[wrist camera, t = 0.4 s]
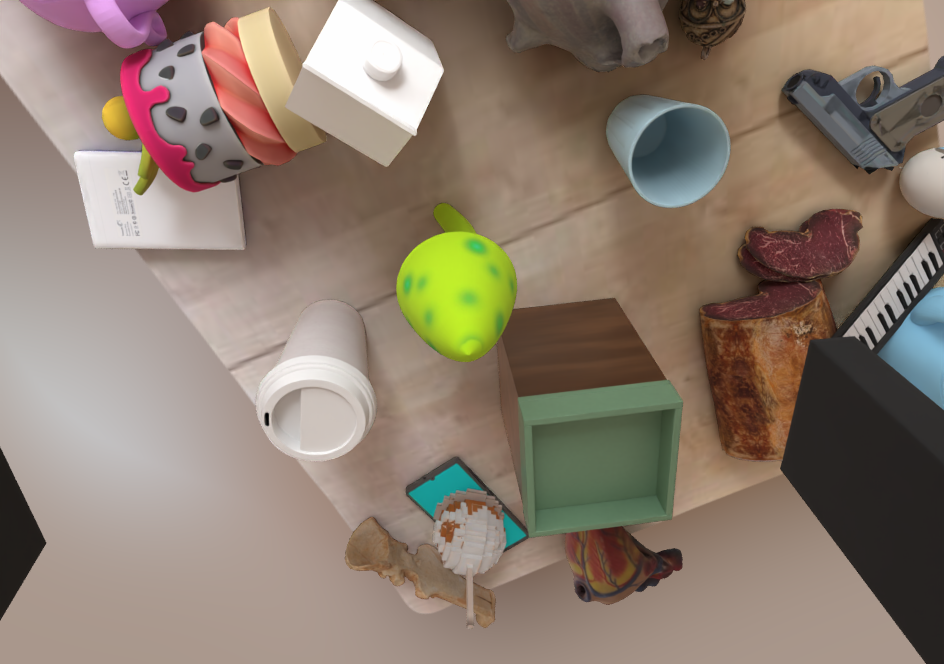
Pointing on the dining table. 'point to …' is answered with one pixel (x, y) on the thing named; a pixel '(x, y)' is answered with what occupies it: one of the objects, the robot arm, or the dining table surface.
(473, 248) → the mushroom
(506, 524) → the smartphone
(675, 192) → the cup
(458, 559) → the decorative ornament
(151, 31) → the teapot
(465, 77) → the dining table surface
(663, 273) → the dining table surface
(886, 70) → the handgun
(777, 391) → the cured meat
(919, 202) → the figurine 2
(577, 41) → the piggy bank
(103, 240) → the hard drive
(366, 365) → the coffee cup
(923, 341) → the teapot
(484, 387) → the dining table surface
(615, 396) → the tray
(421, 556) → the figurine
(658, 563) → the anatomical model
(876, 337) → the midi keyboard
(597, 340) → the stand
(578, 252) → the dining table surface
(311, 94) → the milk carton
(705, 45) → the pendant
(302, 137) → the cake
